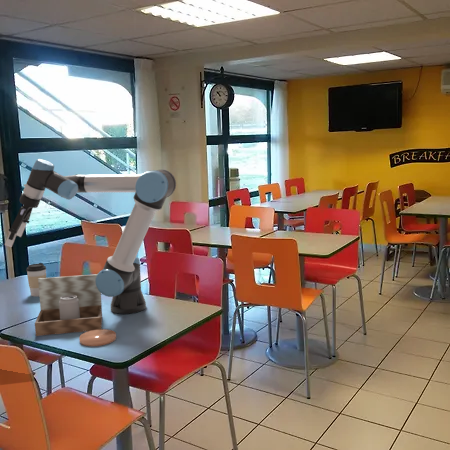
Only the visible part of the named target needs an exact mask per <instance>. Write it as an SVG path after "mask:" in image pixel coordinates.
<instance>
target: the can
mask: <svg viewBox="0 0 450 450" xmlns="http://www.w3.org/2000/svg"><path fill="white" fill-rule="evenodd" d="M60 299H61V300H60V301H59V310H60V320H67V319H79V318H80V310H79V299H78V298H77V296H76V295H65V296H62V297H61V298H60Z"/></svg>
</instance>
